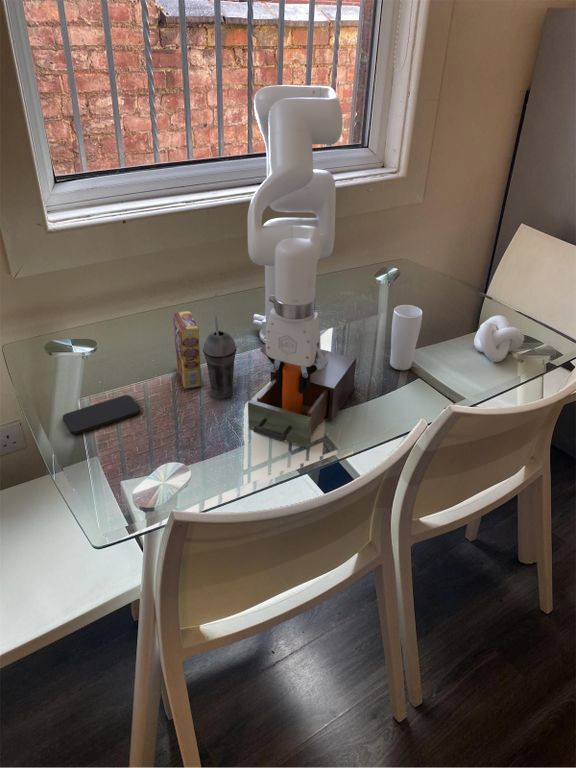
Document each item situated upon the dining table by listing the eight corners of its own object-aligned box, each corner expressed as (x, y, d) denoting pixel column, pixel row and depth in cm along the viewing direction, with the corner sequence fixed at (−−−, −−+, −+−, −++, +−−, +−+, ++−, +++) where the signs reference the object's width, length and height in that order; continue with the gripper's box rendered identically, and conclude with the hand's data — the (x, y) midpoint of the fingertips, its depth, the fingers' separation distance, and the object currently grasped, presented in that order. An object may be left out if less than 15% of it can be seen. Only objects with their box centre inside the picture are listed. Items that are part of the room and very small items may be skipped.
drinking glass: (414, 374, 145) (422, 319, 136) (385, 371, 146) (392, 315, 138) (414, 360, 150) (423, 306, 142) (387, 357, 151) (394, 303, 143)
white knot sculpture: (459, 344, 157) (465, 314, 152) (498, 338, 160) (505, 308, 155) (483, 366, 148) (491, 335, 143) (524, 359, 151) (533, 328, 146)
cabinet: (331, 421, 129) (333, 388, 124) (270, 403, 134) (270, 371, 129) (353, 389, 139) (356, 358, 134) (296, 374, 144) (296, 343, 139)
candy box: (203, 386, 139) (199, 328, 131) (184, 389, 138) (179, 331, 129) (194, 366, 146) (190, 310, 138) (177, 369, 145) (171, 312, 136)
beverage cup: (243, 387, 139) (240, 309, 128) (230, 405, 133) (226, 325, 122) (214, 381, 141) (209, 304, 130) (200, 398, 135) (194, 319, 124)
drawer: (299, 460, 117) (299, 432, 113) (238, 440, 121) (237, 413, 118) (331, 414, 129) (333, 388, 126) (275, 398, 134) (275, 372, 130)
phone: (141, 410, 130) (71, 433, 122) (142, 413, 130) (72, 436, 123) (128, 393, 135) (60, 414, 127) (129, 396, 135) (61, 418, 128)
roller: (278, 418, 126) (279, 370, 119) (287, 408, 129) (288, 360, 122) (296, 424, 125) (298, 375, 118) (305, 413, 128) (307, 365, 121)
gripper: (245, 304, 113) (247, 385, 123) (328, 324, 107) (323, 407, 117) (263, 289, 118) (264, 368, 128) (344, 307, 112) (337, 388, 123)
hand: (292, 386), depth 123 cm, fingers closed on roller, 4 cm apart
